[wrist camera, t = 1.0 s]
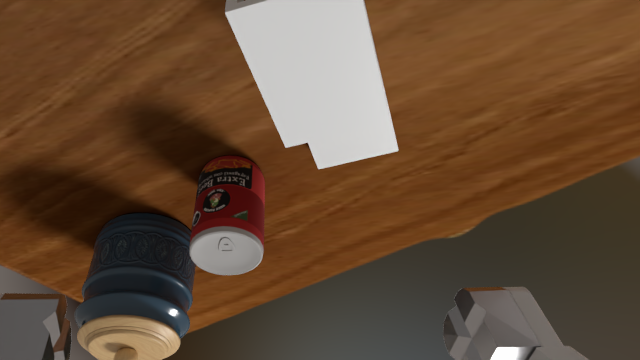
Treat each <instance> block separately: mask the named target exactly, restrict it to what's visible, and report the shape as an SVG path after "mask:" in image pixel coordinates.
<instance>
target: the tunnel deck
mask: <svg viewBox="0 0 640 360" xmlns="http://www.w3.org/2000/svg"><path fill="white" fill-rule="evenodd" d="M225 14H226V16H227V19H228V21H229V23H230V25H231V27H232V30H233V32H234V34H235V36H236V39H237V41H238V43H239V45H240V47H241V50H242V52H243V54H244V56H245V59H246V61H247V63H248V65H249V67H250V70H251V72H252V74H253V76H254V79H255V81H256V83H257V85H258V87H259V90H260V92H261V94H262V96H263V99H264V101H265V103H266V105H267V107H268V110H269V112H270V114H271V116H272V119H273V121H274V123H275V125H276V127H277V130H278V132H279V134H280V136H281V139H282V141H283V143H284V145H285V147H286V148H287V147H291V146H295V145H299V144H304V143H308V145H309V147H310V150H311V152H312V155H313V157H314V160H315V162H316V164H317V167H318V169H322V168H326V167H331V166H335V165H339V164H344V163H348V162H353V161H357V160H361V159H366V158H370V157H374V156H379V155H383V154H387V153H392V152H396V151H399V150H398V146H397V141H396V137H395V133H394V128H393V124H392V120H391V115H390V111H389V107H388V102H387V98H386V93H385V89H384V85H383V80H382V76H381V72H380V67H379V63H378V59H377V54H376V50H375V46H374V41H373V37H372V33H371V28H370V24H369V20H368V15H367V11H366V7H365V2H364V0H246V1H244V0H226V7H225Z"/></svg>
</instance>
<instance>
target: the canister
mask: <svg viewBox="0 0 640 360" xmlns="http://www.w3.org/2000/svg"><path fill="white" fill-rule="evenodd" d="M190 237H191V231H190V230H189V229H188V228H187V227H186V226H184V225H183V224H181V223H180V222H178V221H176V220H173V219H171V218H168V217H165V216H161V215H157V214H149V213H133V214H126V215H122V216H119V217H116V218H114V219H112V220H110V221H109V222H108V223H106V224H105V225H104V227H103V228H102V230H101V232H100V233H99V235H98V236H97V239H96V242H95V245H94V254H93V258H92V261H91V265H90V268H89V272H88V275H87V279H86V281H85V282H84V284H83V287H82V295H83V298H84V301H83V302H82V303H81V304H80V305H79V306H78V307H77V309H76V311H75V321H76V323H77V325H78V327H79V328H80V329H79V331H78V334H77V339H78V341H79V343H80V345H81V346H82V347H83V348H84V349H86V350H87V351H89V352H90V353H91V354H92V355H93V356H94V357H96V358H97V359H99V360H162V359H164V358H166V357H168V356H170V355H172V354H173V353H175V352H176V351H177V350H178V348H179V346H180V338H182V337H183V336H184V335H185V334H186V333H187V331H188V329H189V326H190V320H189V317H188V315H187V311H188V310H189V309H190V307H191V305H192V301H193V297H192V290H193V282H194V274H195V267H196V264H195V263H194V262H193V261H192V259H191V257H190V251H189V250H190V247H189V246H190Z"/></svg>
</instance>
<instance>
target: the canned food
mask: <svg viewBox="0 0 640 360" xmlns="http://www.w3.org/2000/svg"><path fill="white" fill-rule="evenodd" d="M264 205H265V181H264V177H263V174H262V172H261V170H260V169H259V167H258V166H257V165H256V164H255V163H253V162H252V161H250V160H248V159H246V158H243V157H239V156H222V157H218V158H215V159H213V160H211V161H210V162H208V163H207V164H206V165H205V167H204V168H203V170H202V172H201V174H200V177H199V182H198V189H197V196H196V202H195V209H194V216H193V223H192V230H191V237H190V246H189V247H190V250H189V251H190V257H191V259H192V261H193V262H194V263H195V264H196V265H197V266H198V267H200V268H201V269H203V270H205V271H208V272H210V273H214V274H220V275H237V274H242V273H245V272H248V271H250V270H252V269H254V268H255V267H256V266H258V265H259V263H260V262H261V260H262V257H263V249H264Z"/></svg>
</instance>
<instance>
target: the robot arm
mask: <svg viewBox="0 0 640 360" xmlns="http://www.w3.org/2000/svg"><path fill="white" fill-rule="evenodd" d="M454 301H455V303H456V305H457V306H456V307H455V308H453V309H452V310H450V311H449V312H448V313H447V315H446V318H445V321H444V326H443V327H444V328H443V336H444V341H445V345H446V348H447V350H448V353H449V354H450V355H451V356H452V357H453V358H454V359H456V360H588V359H587V358H585V357H584V356H583V355H581V354H580V353H578V352H577V351H576V350H574V349H573V348H572V347H570V346H563V344H562V343H561V341H560V340H559V338H558V336H557V335H556V333H555V331H554V330H553V328H552V327H551V325H550V324H549V322H548V320H547V319H546V317H545V315H544V314H543V312H542V311H541V309H540V307H539V306H538V304H537V303H536V301H535V299H534V298H533V296H532V295H531V293H530V292H529V290H527V289H526V288H525V287H503V288H501V287H484V288H483V287H482V288H462V289H461V290H459V291H458V292H457V294H456V296H455V298H454ZM67 307H68V306H67V302H66V296H65V295H64V294H6V293H5V294H0V360H69V359H70V351H71V342H72V339H71V324H70V321H68V320H67V319H66V318H65V314H66V311H67Z"/></svg>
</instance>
